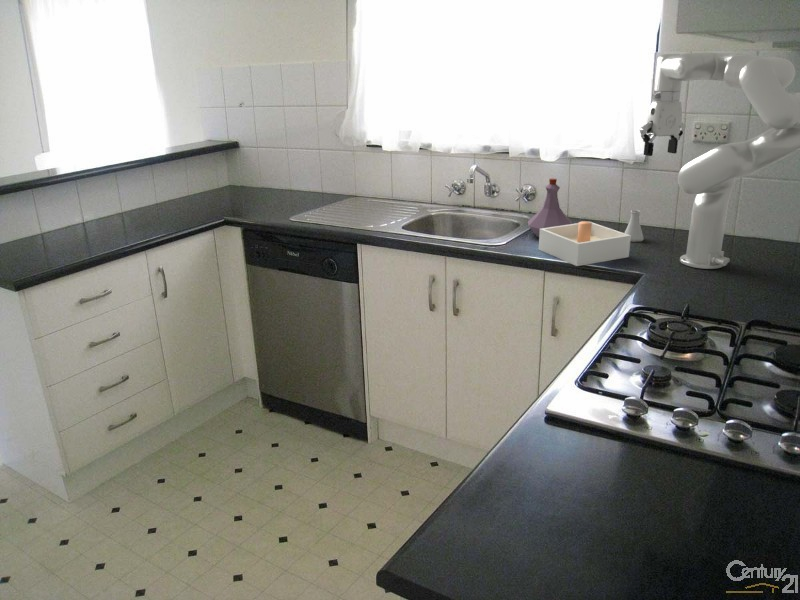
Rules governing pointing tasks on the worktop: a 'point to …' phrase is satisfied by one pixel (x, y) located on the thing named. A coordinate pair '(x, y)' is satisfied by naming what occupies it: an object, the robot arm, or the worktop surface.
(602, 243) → the box
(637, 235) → the flask
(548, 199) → the flask
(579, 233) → the peg
